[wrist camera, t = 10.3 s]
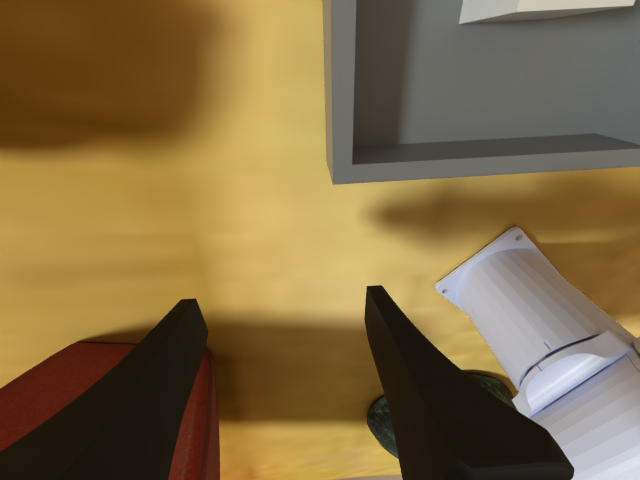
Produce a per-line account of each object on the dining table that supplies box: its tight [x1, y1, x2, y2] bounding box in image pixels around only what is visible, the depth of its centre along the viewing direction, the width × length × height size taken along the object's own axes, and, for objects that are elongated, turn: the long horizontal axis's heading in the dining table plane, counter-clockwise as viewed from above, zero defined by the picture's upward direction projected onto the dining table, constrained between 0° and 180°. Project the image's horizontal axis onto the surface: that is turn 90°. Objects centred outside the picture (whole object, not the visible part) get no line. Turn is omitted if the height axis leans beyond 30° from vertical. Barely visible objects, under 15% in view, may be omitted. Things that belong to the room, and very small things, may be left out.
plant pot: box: [0, 343, 220, 480], centre depth 23 cm, size 19×19×17 cm
